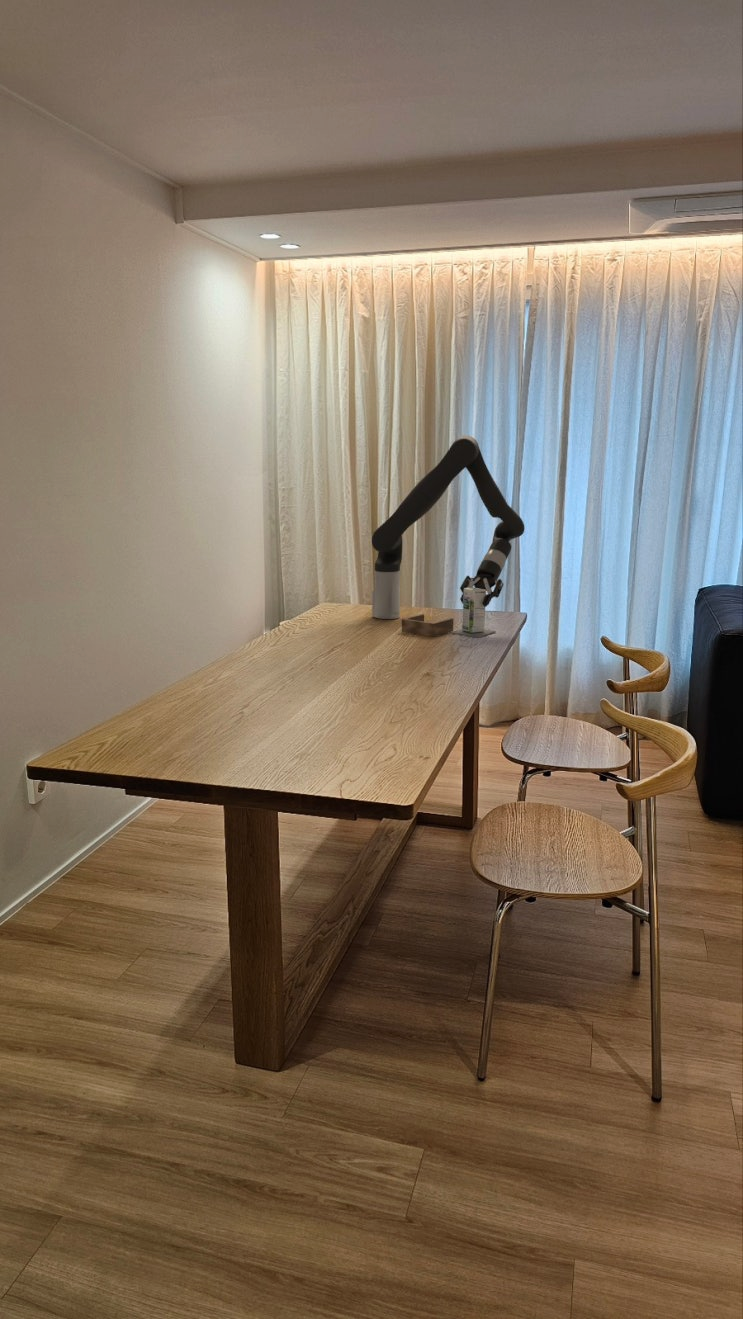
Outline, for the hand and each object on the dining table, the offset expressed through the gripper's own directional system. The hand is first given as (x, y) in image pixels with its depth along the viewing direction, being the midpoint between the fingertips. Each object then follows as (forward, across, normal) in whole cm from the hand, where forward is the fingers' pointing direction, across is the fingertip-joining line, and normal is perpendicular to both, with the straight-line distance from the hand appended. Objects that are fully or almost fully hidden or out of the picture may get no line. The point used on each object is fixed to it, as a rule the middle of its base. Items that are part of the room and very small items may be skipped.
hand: (473, 603), depth 310 cm
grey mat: (+7, 0, +7) cm, 10 cm away
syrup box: (+6, 0, +7) cm, 10 cm away
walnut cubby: (+12, -13, +2) cm, 18 cm away
